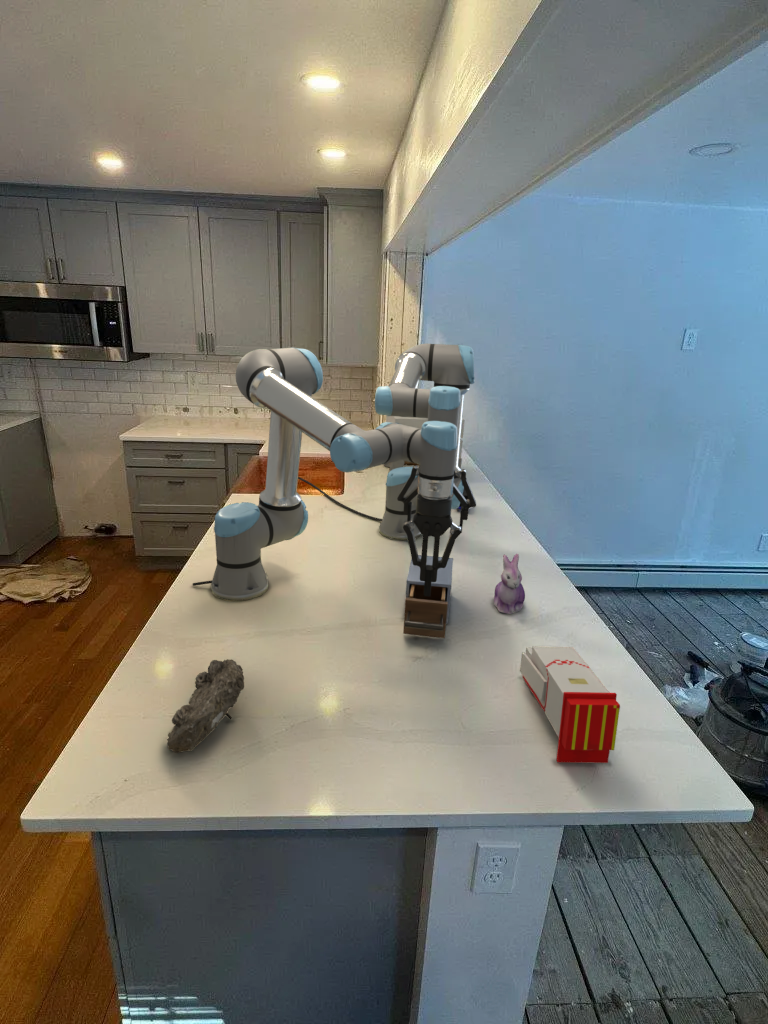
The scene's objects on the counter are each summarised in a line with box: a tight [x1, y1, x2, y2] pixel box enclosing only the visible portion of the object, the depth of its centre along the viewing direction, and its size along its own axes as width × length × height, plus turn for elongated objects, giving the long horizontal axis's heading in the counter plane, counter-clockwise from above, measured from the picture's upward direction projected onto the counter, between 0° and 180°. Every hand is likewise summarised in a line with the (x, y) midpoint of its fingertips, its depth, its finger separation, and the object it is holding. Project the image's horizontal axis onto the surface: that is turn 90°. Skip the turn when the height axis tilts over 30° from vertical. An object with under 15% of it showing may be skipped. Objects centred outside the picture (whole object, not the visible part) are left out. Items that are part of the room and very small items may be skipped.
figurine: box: [493, 553, 526, 615], centre depth 151 cm, size 9×10×15 cm
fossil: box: [166, 658, 245, 754], centre depth 106 cm, size 22×10×15 cm
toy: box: [519, 645, 621, 764], centre depth 112 cm, size 12×13×30 cm
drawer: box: [402, 584, 448, 639], centre depth 139 cm, size 21×10×9 cm, turn 172°
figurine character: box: [456, 489, 470, 512], centre depth 228 cm, size 7×8×15 cm
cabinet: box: [404, 554, 454, 625], centre depth 150 cm, size 16×11×11 cm
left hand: (427, 593), depth 129 cm, fingers closed
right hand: (434, 528), depth 149 cm, fingers open, 13 cm apart
